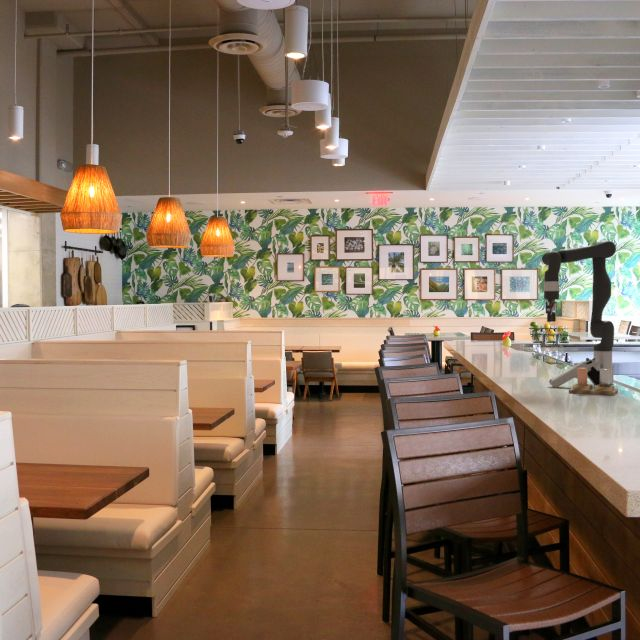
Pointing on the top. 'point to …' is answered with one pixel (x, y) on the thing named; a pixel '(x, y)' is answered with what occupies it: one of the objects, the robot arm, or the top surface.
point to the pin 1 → (582, 376)
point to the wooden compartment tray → (593, 390)
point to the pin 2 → (604, 377)
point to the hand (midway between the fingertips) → (551, 321)
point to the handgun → (592, 373)
